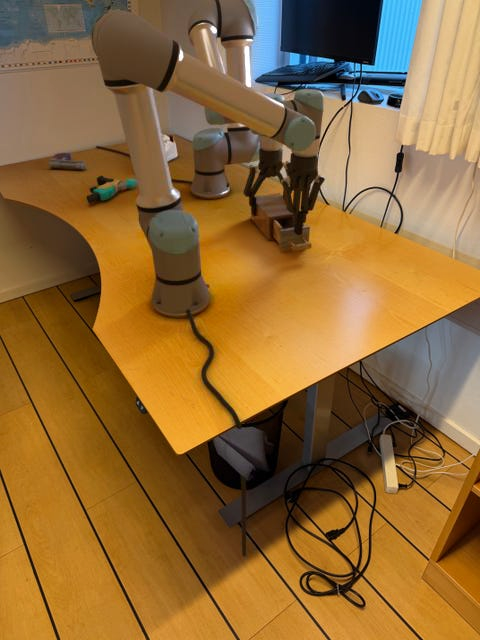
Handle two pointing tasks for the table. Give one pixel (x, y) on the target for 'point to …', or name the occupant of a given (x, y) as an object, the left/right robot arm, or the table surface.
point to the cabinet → (269, 212)
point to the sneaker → (169, 147)
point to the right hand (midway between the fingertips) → (269, 212)
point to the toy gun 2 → (108, 188)
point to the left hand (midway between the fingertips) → (297, 233)
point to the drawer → (290, 234)
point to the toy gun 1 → (66, 162)
